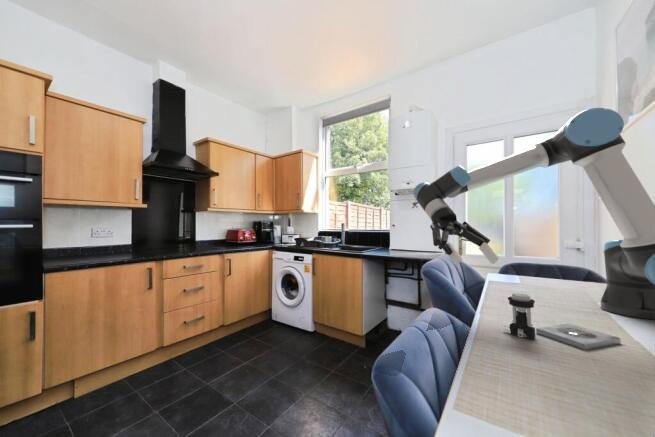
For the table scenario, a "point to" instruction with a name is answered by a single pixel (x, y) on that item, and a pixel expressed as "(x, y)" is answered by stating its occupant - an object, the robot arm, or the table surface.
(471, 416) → the table surface
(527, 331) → the push button
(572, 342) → the flange plate
